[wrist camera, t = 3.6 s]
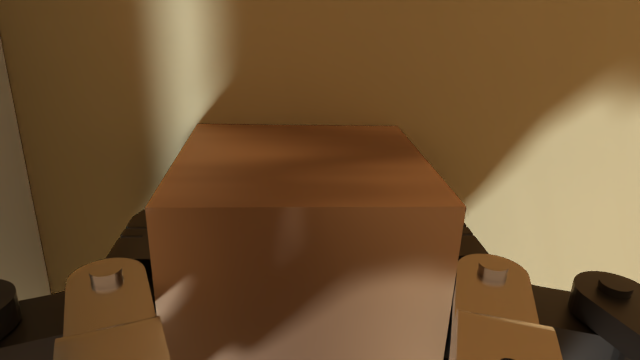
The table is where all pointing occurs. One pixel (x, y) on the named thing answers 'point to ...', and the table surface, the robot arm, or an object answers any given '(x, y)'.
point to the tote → (17, 207)
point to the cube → (303, 245)
